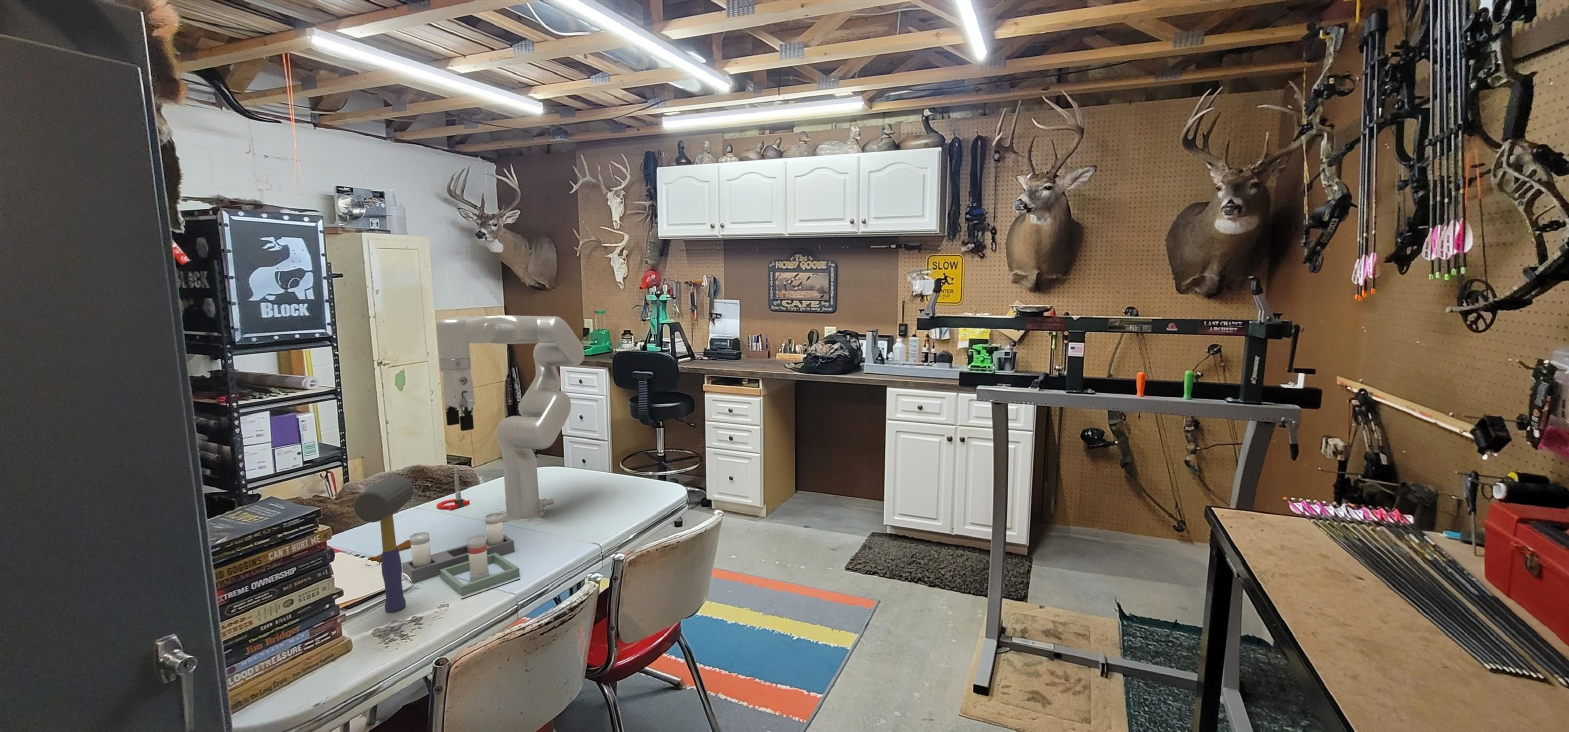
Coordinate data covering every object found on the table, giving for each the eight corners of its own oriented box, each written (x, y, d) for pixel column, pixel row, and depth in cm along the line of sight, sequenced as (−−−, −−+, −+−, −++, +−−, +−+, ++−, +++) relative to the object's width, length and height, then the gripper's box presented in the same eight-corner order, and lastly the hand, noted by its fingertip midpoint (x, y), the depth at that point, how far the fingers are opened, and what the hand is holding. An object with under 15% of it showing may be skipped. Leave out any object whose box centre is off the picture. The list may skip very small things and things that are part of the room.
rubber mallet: (392, 599, 150) (380, 473, 146) (426, 597, 151) (415, 472, 147) (362, 628, 138) (348, 491, 134) (399, 626, 139) (386, 489, 135)
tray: (496, 563, 169) (495, 552, 169) (520, 579, 160) (519, 567, 159) (440, 581, 159) (439, 569, 159) (462, 599, 150) (461, 587, 150)
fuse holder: (503, 547, 179) (502, 533, 178) (514, 554, 174) (513, 540, 174) (403, 578, 161) (402, 562, 161) (412, 587, 157) (411, 571, 156)
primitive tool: (408, 541, 186) (407, 529, 185) (427, 541, 186) (426, 529, 185) (364, 571, 167) (362, 558, 166) (385, 571, 167) (383, 558, 166)
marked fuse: (484, 572, 162) (481, 533, 161) (491, 577, 159) (488, 537, 158) (467, 577, 159) (464, 538, 158) (474, 583, 156) (470, 543, 155)
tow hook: (431, 508, 213) (448, 511, 208) (427, 469, 212) (444, 472, 207) (455, 500, 220) (472, 503, 216) (451, 463, 219) (468, 465, 214)
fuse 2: (500, 547, 177) (498, 511, 176) (507, 551, 174) (505, 515, 173) (485, 551, 174) (482, 515, 173) (491, 556, 171) (489, 519, 170)
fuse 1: (429, 568, 164) (425, 530, 163) (435, 573, 161) (431, 535, 160) (410, 574, 161) (407, 535, 160) (416, 579, 158) (413, 540, 157)
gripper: (482, 365, 172) (487, 429, 174) (457, 360, 184) (462, 420, 186) (452, 369, 166) (457, 434, 169) (428, 363, 178) (434, 425, 181)
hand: (460, 427), depth 177 cm, fingers open, 9 cm apart
